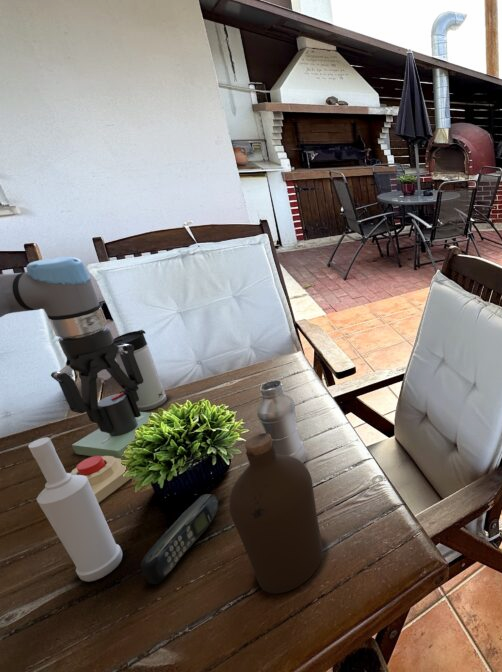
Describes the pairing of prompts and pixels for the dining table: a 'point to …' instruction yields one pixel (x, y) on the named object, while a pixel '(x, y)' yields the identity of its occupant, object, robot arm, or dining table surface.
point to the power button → (90, 465)
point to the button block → (106, 477)
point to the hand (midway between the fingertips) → (121, 423)
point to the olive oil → (276, 517)
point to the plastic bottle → (280, 420)
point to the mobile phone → (179, 539)
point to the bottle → (75, 515)
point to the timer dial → (119, 414)
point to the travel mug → (143, 371)
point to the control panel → (107, 441)
